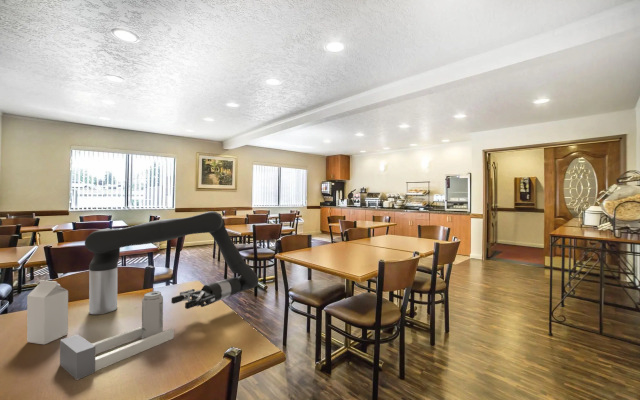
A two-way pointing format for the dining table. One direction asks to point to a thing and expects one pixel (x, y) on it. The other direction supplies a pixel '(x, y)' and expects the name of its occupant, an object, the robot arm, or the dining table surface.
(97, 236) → the robot arm
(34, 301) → the milk carton
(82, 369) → the stop channel
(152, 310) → the energy drink can
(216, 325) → the dining table surface
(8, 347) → the dining table surface
